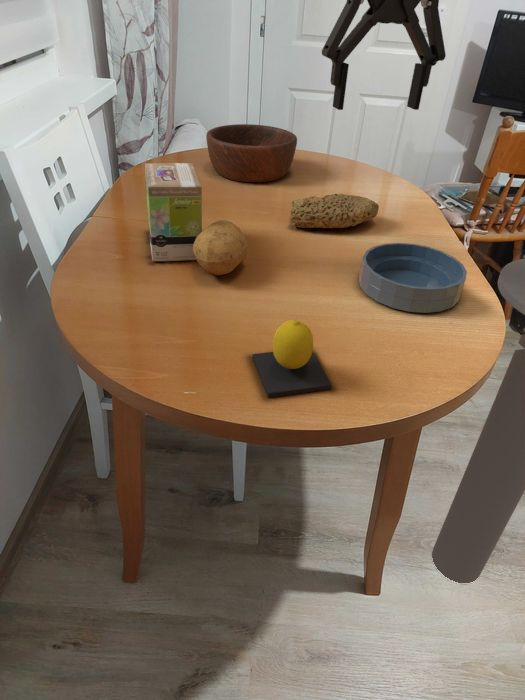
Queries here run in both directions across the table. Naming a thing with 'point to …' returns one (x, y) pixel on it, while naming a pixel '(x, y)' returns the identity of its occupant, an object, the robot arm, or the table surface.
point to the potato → (220, 247)
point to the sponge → (332, 211)
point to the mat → (290, 376)
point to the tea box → (173, 210)
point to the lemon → (293, 344)
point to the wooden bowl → (251, 152)
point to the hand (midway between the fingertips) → (375, 108)
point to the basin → (412, 277)
